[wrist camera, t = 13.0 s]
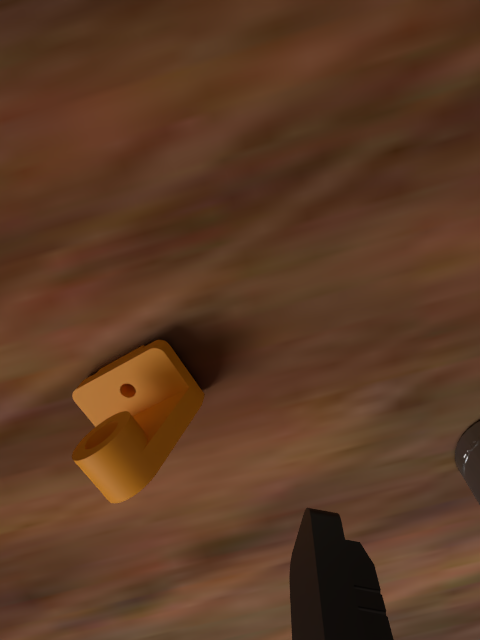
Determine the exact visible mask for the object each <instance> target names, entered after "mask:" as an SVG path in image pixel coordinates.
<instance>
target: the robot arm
mask: <svg viewBox="0 0 480 640" xmlns="http://www.w3.org/2000/svg"><path fill="white" fill-rule="evenodd" d="M455 461H456V465H457V467H458V469H459V471H460V473H461V474H462V476H463V478H464V479H465V481H466V483H467V484H468V486H469V488H470V489H471V491H472V493H473V494H474V496H475V498H476V500H477V501H478V503H479V505H480V421H479V422H477V423H476V424H474V425H473V426H472V427H470V428H469V429H468V430H467V431H466V432H465V433H464V434H463V435H462V437H461V439H460V440H459V442H458V444H457V447H456V450H455ZM380 590H381V589H380V586H379V582H378V578H377V574H376V570H375V566H374V564H373V562H372V561H371V559H370V558H369V556H368V554H367V553H366V551H365V550H364V548H363V547H362V545H361V543H360V542H355V541H350V540H345V537H344V532H343V527H342V522H341V518H340V516H339V514H338V513H333V512H328V511H322V510H316V509H311V508H306V510H305V512H304V515H303V518H302V522H301V525H300V528H299V532H298V535H297V539H296V542H295V545H294V549H293V552H292V557H291V564H290V602H291V623H292V640H393V636H392V632H391V628H390V624H389V621H388V617H387V616H386V609H385V605H384V601H383V597H382V595H381V594H380Z"/></svg>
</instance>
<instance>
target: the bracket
mask: <svg viewBox="0 0 480 640" xmlns="http://www.w3.org/2000/svg"><path fill="white" fill-rule="evenodd" d="M204 395H205V394H204V393H203V391H202V390H201V389H200V387H199V386H198V384H197V383H196V382H195V380H194V379H193V377H192V376H191V374H190V373H189V372H188V370H187V369H186V367H185V366H184V365H183V363H182V362H181V360H180V359H179V357H178V356H177V355H176V353H175V352H174V350H173V349H172V347H171V346H170V345H169V343H167V342H166V341H164V340H156V341H154V342H152V343H150V344H148V345H146V346H144V345H143V346H141V347H139V348H137V349H135V350H134V351H132V352H130V353H128V354H126V355H125V356H123V357H121V358H119V359H117V360H115V361H114V362H112V363H110V364H108V365H106V366H105V367H103V368H101V369H99V371H98V372H97V373H96V374H94V375H92V376H90V377H88V378H87V379H85V380H83V381H82V382H81V384H80V385H79V386H78V387H77V388H76V390H75V391H74V392H73V400H74V401H75V403H76V404H77V405H78V406H79V407H80V409H81V410H82V411H83V412H84V413H85V415H86V416H87V417H88V418H89V419H90V421H91V422H92V423H93V424H94V425H95V428H94V429H93V430H91V431H90V432H89V433H88V434H87V435H86V436H85V437H84V438H83V439H82V440H81V441H80V443H79V444H78V445H77V447H76V448H75V450H74V452H73V454H72V459H73V460H74V462H75V463H76V464H77V465H78V466H79V467H80V468H81V470H82V471H83V472H84V473H85V474H86V475H87V476H88V478H89V479H90V480H91V481H92V482H93V483H94V484H95V486H96V487H97V488H98V489H99V490H100V491H101V492H102V494H103V495H104V496H105V497H106V498H107V499H108V500H109V502H111V503H120V502H123V501H125V500H127V499H129V498H131V497H133V496H134V495H135V494H137V493H138V492H139V491H141V490H142V489H143V488H144V487H145V486H146V485H147V484H148V483H149V482H150V481H151V480H152V479H153V477H154V476H155V475H156V473H157V472H158V470H159V469H160V467H161V466H162V464H163V463H164V461H165V460H166V458H167V457H168V455H169V454H170V452H171V451H172V449H173V448H174V446H175V445H176V443H177V442H178V440H179V439H180V437H181V436H182V434H183V433H184V431H185V430H186V428H187V427H188V425H189V424H190V422H191V421H192V419H193V417H194V416H195V414H196V413H197V411H198V410H199V408H200V407H201V405H202V402H203V399H204Z"/></svg>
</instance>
